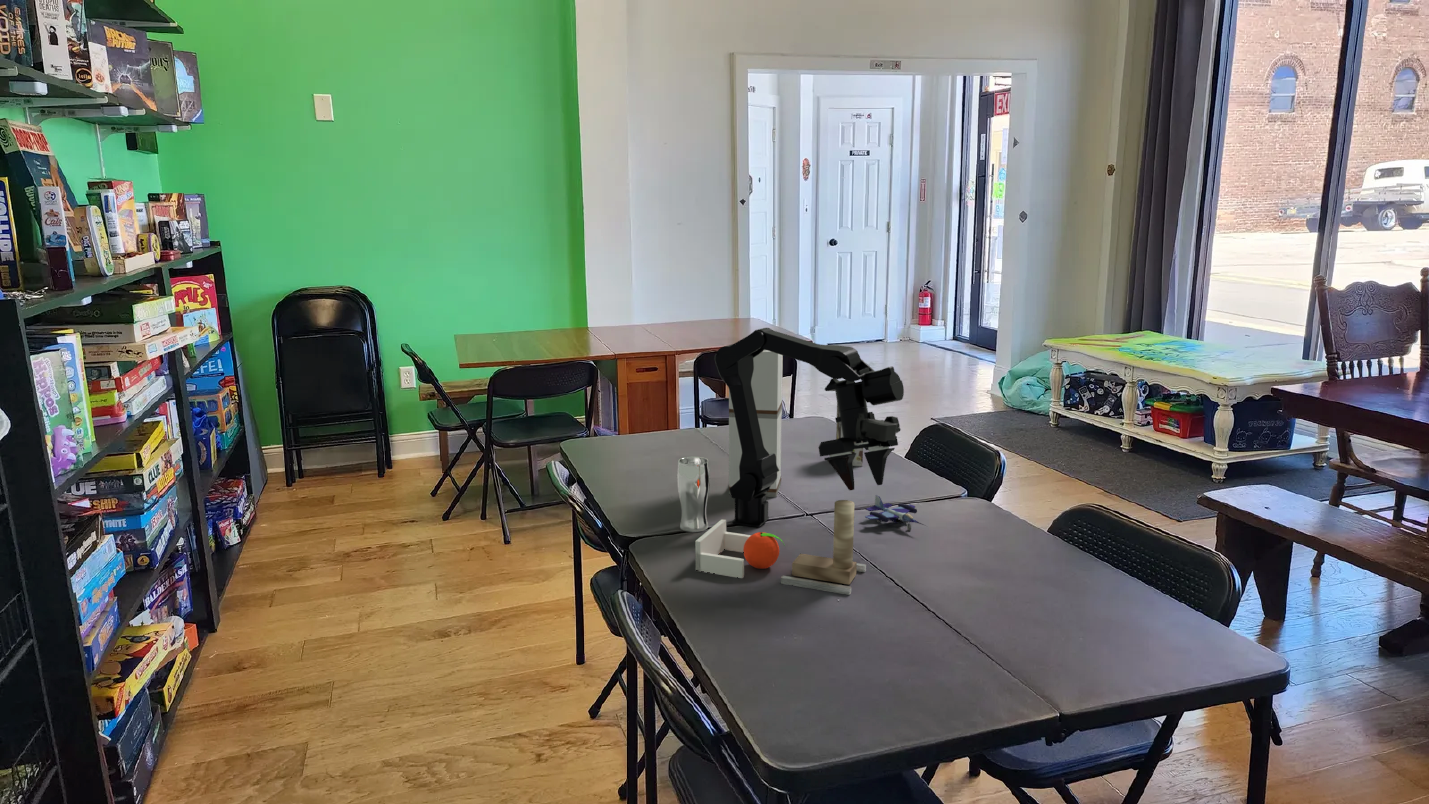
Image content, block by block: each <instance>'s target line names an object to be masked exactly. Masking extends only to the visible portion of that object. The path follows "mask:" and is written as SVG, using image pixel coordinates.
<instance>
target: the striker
mask: <svg viewBox="0 0 1429 804" xmlns="http://www.w3.org/2000/svg"><path fill="white" fill-rule="evenodd" d="M833 508H834V509H833V511H834V512H833V513H834V515H833V517H834V518H833V546H832V547H833V550H832V554H833V555H832V558H831V557H828V556H827V557H826V556H819V555H813V554H805V553H800V554H799V555H798V556H797V557H796V558H795V559H794V560H793V561H792V562H791V563H792V564H791V576H792V577H798V578H804V579H810V580H816V581H823V582H829V583H831V582H832V583H835V584H841V585H842V584H844V585H847V586H849V585H851V583H852V581H853V580H854V578H855V577H856V576H857V571H856V567H857V561H854V560H853V559H854V533H855V531H854V527H855V526H854V525H855V502H854V501H851V500H849V499H839V500H836V501H834V507H833Z"/></svg>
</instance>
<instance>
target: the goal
mask: <svg viewBox="0 0 1429 804" xmlns="http://www.w3.org/2000/svg"><path fill="white" fill-rule="evenodd" d="M750 536H751V535H750V534H744V533H739V532H738V533H737V532H730V531H727V519H722V518H721V519H720V520H719V521H718V522H717V523H715V524H714V525H713V526H712V527H710V528H709V529H707V531H706V532H704V533H703V534H702V535H701V536H700V537H698V538H697V539H696V540H695V542H694V543H695V546H694V547H695V571H696V570H699V571H698V572H701V571H704V572H703V573H707V572H710V573H709V574H713V573H715V574H714V575H720V576H726V577H731V578H737V577H738V578H739V579H744V576H745V558H740V557H734V556H729V555H721V553H723V552H724V551H731V552H737V553H743V552H744V551H743V549H744V544H745V542H746V540H747V539H748V538H749V537H750ZM724 549H725V550H724ZM720 552H721V553H720ZM719 553H720V554H719ZM718 554H719V555H718Z"/></svg>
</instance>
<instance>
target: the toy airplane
mask: <svg viewBox="0 0 1429 804" xmlns="http://www.w3.org/2000/svg"><path fill="white" fill-rule="evenodd" d="M897 506H898V507H894V508H891V507H893V504H892V503H889V502H888V503H887V502H886V503H884V502H883V501H882V498H881V496H879V495H877V494H876V495H875V496H874V505H873V506H869V507H867V508H865V509H864V510H865V511H868V512H869V515H865V516H864V517H865V518H866V519H868V520H875V521H876V522H877V523H881V522H884V523H888V522H889V521H891V522H893V523H896V524H898V523H899V524H905V523H906V529H907V531H909V532H911V531H912V525H911V523H915V524H919V525H923V526H926V527H927V525H926V524H923V523H921V522H919V521H917V520H916V519H914V517H913V516H912V514H917V513H918V509H917V508H916V506H915V505H913V504H907V503H898V504H897ZM876 511H880V512H876ZM908 524H909V525H908Z"/></svg>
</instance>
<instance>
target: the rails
mask: <svg viewBox="0 0 1429 804" xmlns="http://www.w3.org/2000/svg"><path fill="white" fill-rule="evenodd" d="M866 571H867V564H864V563H860V562H859V563H857V567H856V572H859V573H861V572H862V573H866ZM780 584H781V585H786V586H792V585H793V586H794V587H798V588H804V589H805V588H806V589H811V590H816V591H817V590H818V591H824V592H828V593H829V592H830V593H835V594H842V595H845V596H850V595H851V593H852V586H849V585H845V584H844V585H842V584H839V583H833V582H832V583H831V582H827V581H820V580H814V579H808V578H802V577H796V576H789V575H788V576H787V575H782V576H781V577H780Z"/></svg>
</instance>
